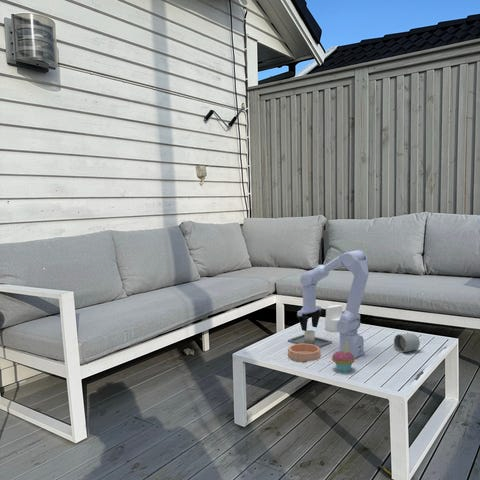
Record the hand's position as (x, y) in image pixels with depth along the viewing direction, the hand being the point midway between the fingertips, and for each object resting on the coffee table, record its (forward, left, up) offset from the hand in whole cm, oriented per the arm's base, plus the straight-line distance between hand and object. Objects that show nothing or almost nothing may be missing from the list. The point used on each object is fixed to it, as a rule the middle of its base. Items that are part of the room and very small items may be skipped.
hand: (309, 328), depth 204 cm
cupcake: (-29, +16, -7) cm, 34 cm away
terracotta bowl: (-9, +15, -7) cm, 19 cm away
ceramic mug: (-35, -21, -7) cm, 41 cm away
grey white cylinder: (+5, -26, -7) cm, 27 cm away
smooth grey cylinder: (0, 0, -6) cm, 6 cm away
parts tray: (0, 0, -7) cm, 7 cm away
